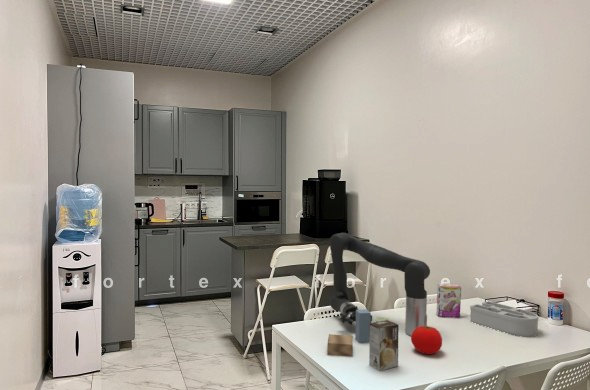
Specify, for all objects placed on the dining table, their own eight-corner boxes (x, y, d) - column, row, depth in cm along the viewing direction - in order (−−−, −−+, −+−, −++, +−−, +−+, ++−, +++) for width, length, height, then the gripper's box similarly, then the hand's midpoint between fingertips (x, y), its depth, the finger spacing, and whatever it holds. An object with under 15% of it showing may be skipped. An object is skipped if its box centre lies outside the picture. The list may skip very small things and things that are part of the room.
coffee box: (387, 360, 164) (388, 319, 164) (398, 366, 159) (399, 324, 158) (368, 364, 160) (369, 322, 160) (379, 371, 154) (380, 327, 154)
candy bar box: (438, 317, 218) (439, 285, 218) (436, 314, 223) (436, 283, 223) (460, 318, 217) (461, 286, 217) (457, 315, 222) (458, 284, 222)
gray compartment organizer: (488, 317, 220) (488, 301, 220) (544, 333, 197) (545, 315, 197) (469, 323, 211) (469, 305, 211) (526, 340, 188) (527, 321, 188)
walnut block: (352, 347, 177) (352, 335, 177) (352, 357, 167) (352, 344, 167) (328, 345, 179) (328, 334, 178) (327, 355, 169) (327, 343, 169)
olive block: (387, 349, 175) (388, 318, 175) (388, 353, 170) (389, 322, 170) (375, 348, 176) (376, 317, 176) (376, 353, 171) (376, 321, 171)
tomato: (438, 360, 165) (439, 333, 165) (407, 353, 172) (408, 327, 171) (444, 350, 175) (445, 325, 174) (415, 344, 181) (416, 320, 181)
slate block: (366, 338, 187) (366, 309, 187) (370, 342, 182) (370, 312, 182) (355, 338, 186) (355, 309, 186) (359, 343, 181) (359, 313, 181)
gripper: (335, 304, 201) (345, 314, 186) (363, 303, 204) (376, 313, 188) (335, 319, 202) (345, 331, 186) (363, 318, 204) (375, 330, 188)
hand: (360, 322), depth 187 cm, fingers open, 8 cm apart
